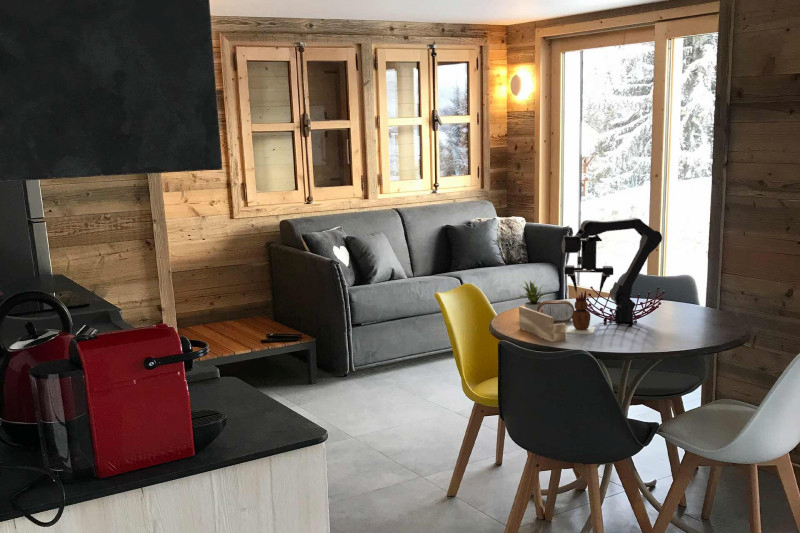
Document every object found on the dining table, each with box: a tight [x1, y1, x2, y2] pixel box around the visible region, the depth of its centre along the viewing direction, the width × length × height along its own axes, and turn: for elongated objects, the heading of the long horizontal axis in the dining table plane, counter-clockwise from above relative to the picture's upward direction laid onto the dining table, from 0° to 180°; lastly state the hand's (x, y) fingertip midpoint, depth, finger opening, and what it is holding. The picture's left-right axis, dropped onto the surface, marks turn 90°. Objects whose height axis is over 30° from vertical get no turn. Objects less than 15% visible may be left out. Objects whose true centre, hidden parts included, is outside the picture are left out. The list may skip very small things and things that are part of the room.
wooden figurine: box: [571, 290, 591, 330], centre depth 301 cm, size 7×6×15 cm
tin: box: [537, 300, 575, 323], centre depth 320 cm, size 15×3×8 cm, turn 84°
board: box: [566, 325, 596, 335], centre depth 302 cm, size 10×10×1 cm
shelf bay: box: [518, 305, 567, 342], centre depth 299 cm, size 6×24×9 cm, turn 20°
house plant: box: [518, 279, 549, 311], centre depth 328 cm, size 14×14×16 cm
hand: (588, 291), depth 310 cm, fingers open, 9 cm apart
